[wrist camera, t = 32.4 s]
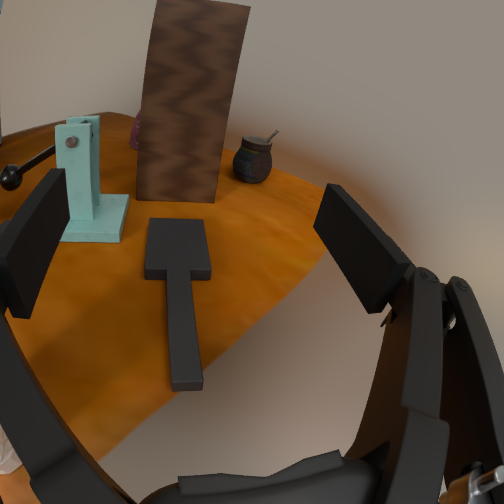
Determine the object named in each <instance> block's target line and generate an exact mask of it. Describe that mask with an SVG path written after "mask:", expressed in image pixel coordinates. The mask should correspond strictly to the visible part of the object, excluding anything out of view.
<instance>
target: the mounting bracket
mask: <svg viewBox="0 0 504 504" xmlns="http://www.w3.org/2000/svg"><path fill="white" fill-rule="evenodd" d="M84 120H87V122H88V123H83V124H79V123H80V122H82V121H84ZM92 133H93V135H94V136H93V137H92ZM99 141H100V116H75V117H68V118H67V119H66V124H62V125H57V126H56V127H55V144H56V162H57V168H65V171H66V184H67V194H68V203H69V212H70V221H69V223H68V225H67V227H66V229H65V231H64V233H63V235H62V237H61V240H60V241H64V242H111V243H120V239H121V235H122V230H123V226H124V222H125V218H126V213H127V210H128V206H129V194H101V193H100V160H99Z"/></svg>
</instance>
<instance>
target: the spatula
mask: <svg viewBox="0 0 504 504" xmlns="http://www.w3.org/2000/svg"><path fill="white" fill-rule="evenodd" d="M210 277H211V264H210V258H209V253H208V247H207V241H206V235H205V229H204V223H203V220H198V219H170V218H149V227H148V236H147V246H146V257H145V279H153V280H166V285H167V320H168V341H169V358H170V372H171V384H172V391H197V390H202V388H203V374H202V367H201V360H200V353H199V346H198V338H197V330H196V322H195V314H194V305H193V296H192V287H191V280H210Z"/></svg>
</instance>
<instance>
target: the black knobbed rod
mask: <svg viewBox="0 0 504 504" xmlns="http://www.w3.org/2000/svg"><path fill="white" fill-rule="evenodd" d="M83 123H88V122H87V120H84V121H82V122H80V123H79V124H83ZM93 136H94V135H93V133H92V137H93ZM55 153H56V144H54V145H52V146H51V147H49V148H47V149H46V150H44V151H43V152H41V153H40V154H38V155H37V156H35V157H34V158H32V159H31V160H29V161H28V162H26V163H25V164H23V165H22V166H20V167H19V166H17V165H15V164H10V165H7V166H6V167H5V168H4V169H3V170H2V172H1V174H0V184H1V186H2V188H3V189H5V190H7V191H14V190H16V189H17V188H18V187H19V186H20V185H21V183H22V179H23V174H24V173H25V172H27V171H28V170H30V169H31V168H33V167H34V166H36V165H37V164H39V163H40V162H42V161H43V160H45V159H47V158H48V157H50V156H51V155H53V154H55Z"/></svg>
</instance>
